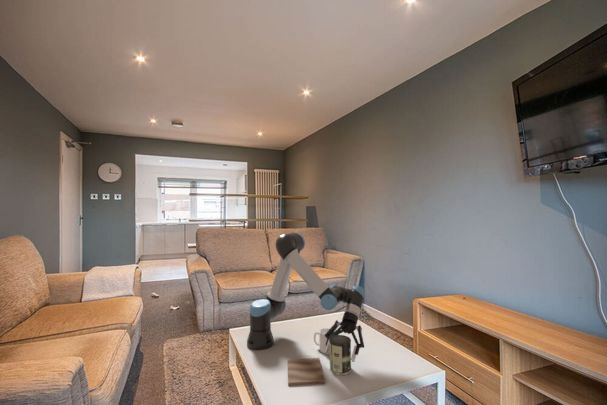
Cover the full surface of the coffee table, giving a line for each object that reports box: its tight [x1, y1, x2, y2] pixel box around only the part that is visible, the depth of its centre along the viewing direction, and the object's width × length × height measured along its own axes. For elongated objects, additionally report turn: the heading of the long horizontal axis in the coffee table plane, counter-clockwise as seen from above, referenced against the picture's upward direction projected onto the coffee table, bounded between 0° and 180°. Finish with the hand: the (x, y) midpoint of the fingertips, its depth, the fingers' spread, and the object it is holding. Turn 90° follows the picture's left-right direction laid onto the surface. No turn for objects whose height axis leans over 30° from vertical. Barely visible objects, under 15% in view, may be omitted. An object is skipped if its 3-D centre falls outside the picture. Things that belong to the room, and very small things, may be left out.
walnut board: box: [286, 357, 326, 386], centre depth 137 cm, size 20×16×1 cm
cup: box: [313, 327, 336, 355], centre depth 159 cm, size 8×12×10 cm
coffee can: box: [329, 334, 352, 376], centre depth 139 cm, size 10×10×14 cm
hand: (339, 357), depth 138 cm, fingers open, 13 cm apart
